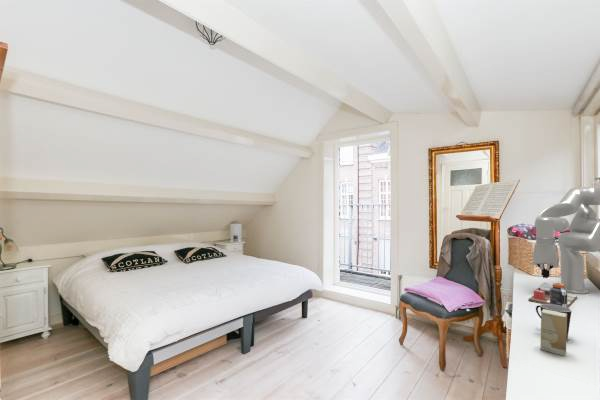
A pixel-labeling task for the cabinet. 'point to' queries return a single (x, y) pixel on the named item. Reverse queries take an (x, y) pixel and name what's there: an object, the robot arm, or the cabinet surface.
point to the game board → (547, 299)
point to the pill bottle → (558, 295)
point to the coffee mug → (557, 309)
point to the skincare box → (553, 331)
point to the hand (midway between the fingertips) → (545, 277)
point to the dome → (545, 287)
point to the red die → (539, 294)
